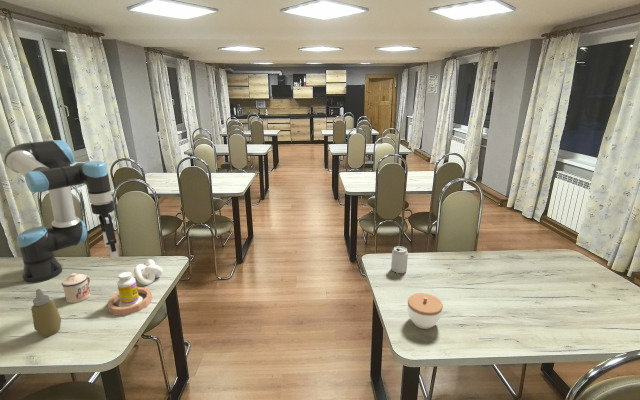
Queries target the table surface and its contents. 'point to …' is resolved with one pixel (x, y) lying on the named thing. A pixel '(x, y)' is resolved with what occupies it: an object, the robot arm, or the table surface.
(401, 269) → the can
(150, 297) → the saucer tray
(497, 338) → the table surface
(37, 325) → the squeeze bottle
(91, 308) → the table surface
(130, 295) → the supplement bottle
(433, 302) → the lidded bowl
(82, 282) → the teacup with lid
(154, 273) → the white decorative knot
